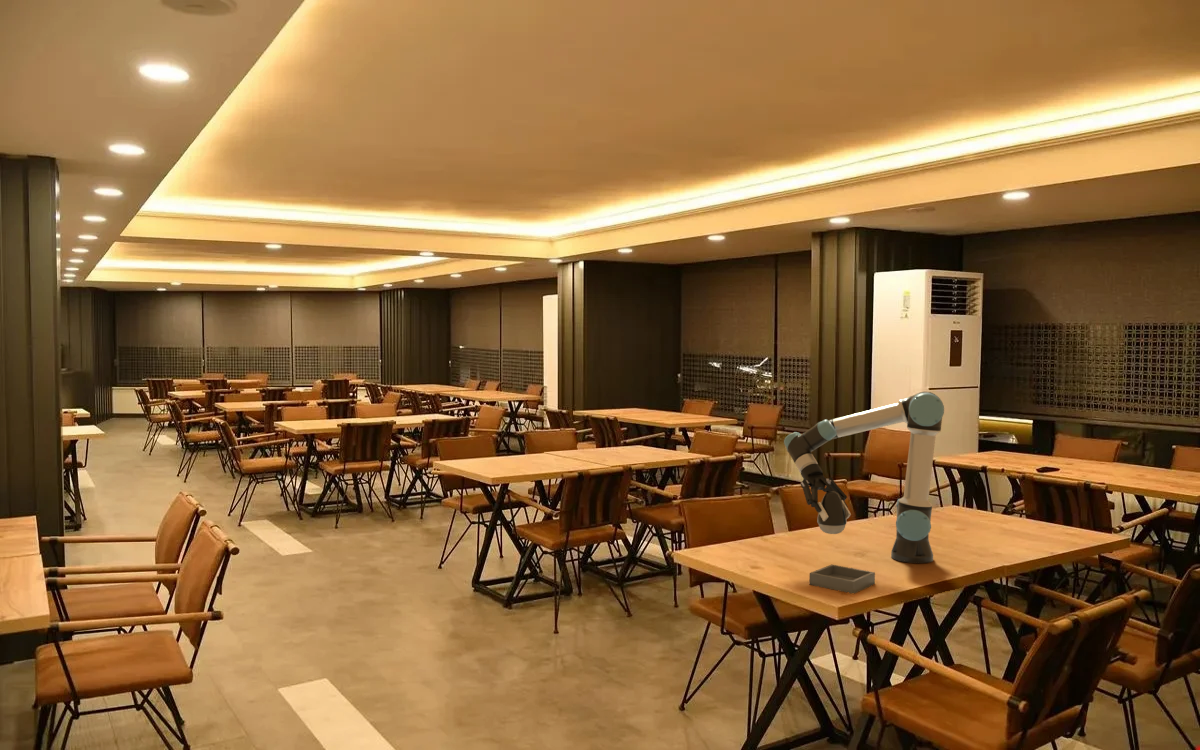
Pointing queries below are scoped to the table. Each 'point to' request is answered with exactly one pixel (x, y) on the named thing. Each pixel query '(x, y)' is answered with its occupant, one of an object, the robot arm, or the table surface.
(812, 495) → the robot arm
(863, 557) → the table surface
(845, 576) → the grey tray
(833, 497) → the dark grey oval piece
